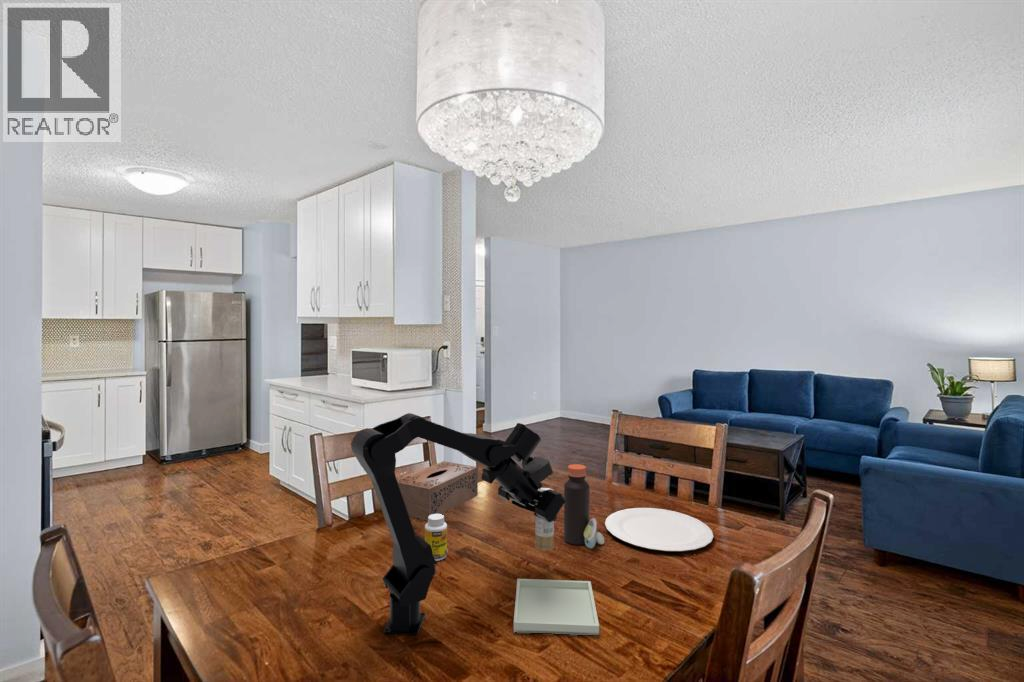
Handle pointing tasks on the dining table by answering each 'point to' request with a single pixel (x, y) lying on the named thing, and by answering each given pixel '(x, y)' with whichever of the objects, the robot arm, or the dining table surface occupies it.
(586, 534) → the pacifier
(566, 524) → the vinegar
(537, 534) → the spice jar
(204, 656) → the dining table surface
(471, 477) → the tissue box cover
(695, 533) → the plate
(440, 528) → the supplement bottle
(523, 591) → the tray
